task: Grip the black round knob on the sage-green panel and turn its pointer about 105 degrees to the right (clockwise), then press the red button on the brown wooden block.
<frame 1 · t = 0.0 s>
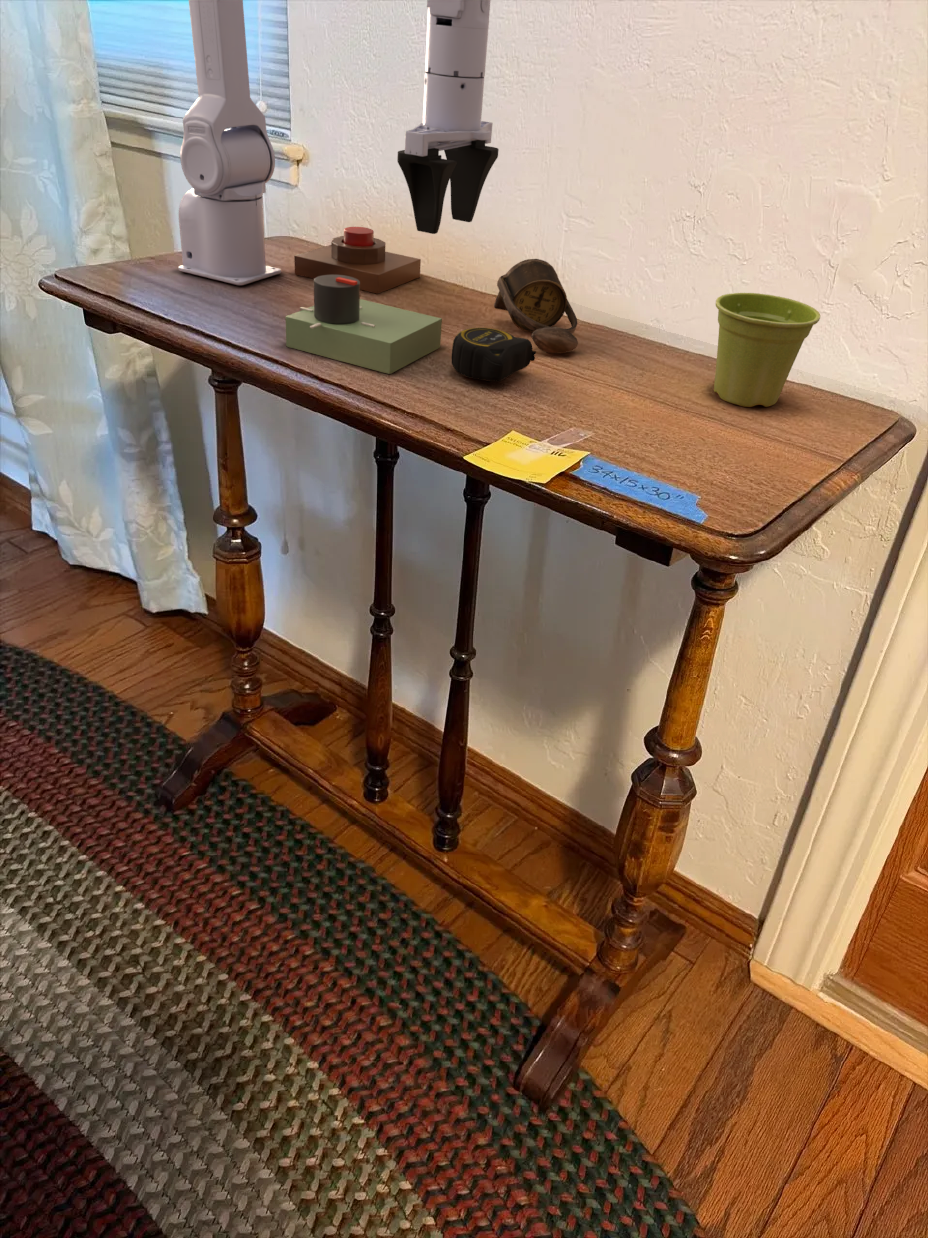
hand: (445, 225, 96), 10 cm above the table, tool pointing down, fingers open, 7 cm apart
antique clock: (532, 338, 101), on the table
red button: (358, 237, 112), point 4 cm above the table, slide at 0.1 cm
plant pot: (744, 398, 90), on the table
tape measure: (492, 378, 89), on the table
dial knob: (336, 297, 90), point 5 cm above the table, hinge at 0.0°
dial panel: (364, 347, 93), on the table
button block: (358, 275, 115), on the table
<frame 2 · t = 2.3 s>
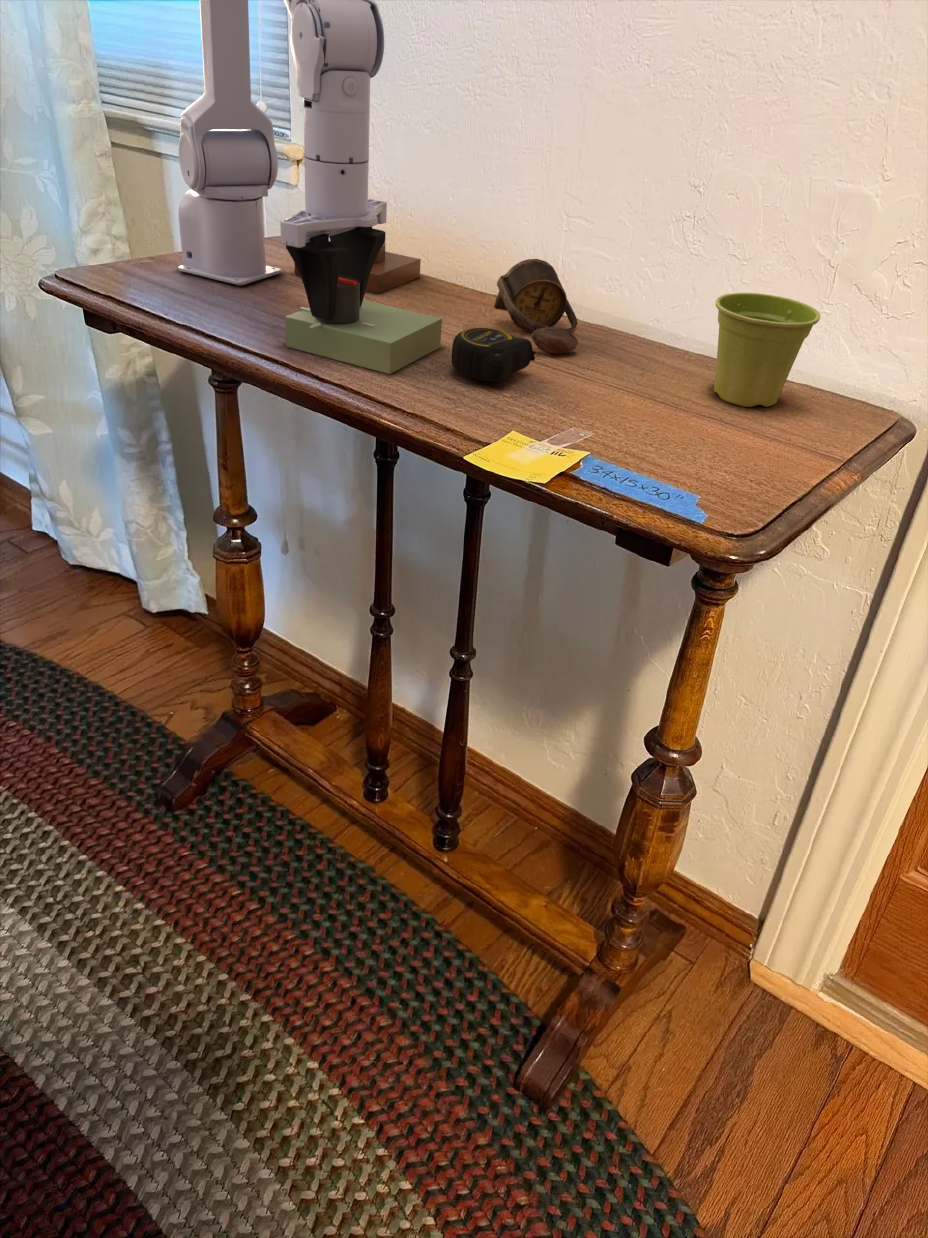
hand: (336, 311, 90), 4 cm above the table, tool pointing down, fingers closed on dial knob, 4 cm apart
dial knob: (336, 297, 90), point 5 cm above the table, hinge at 0.1°, touching gripper
everything else where it was.
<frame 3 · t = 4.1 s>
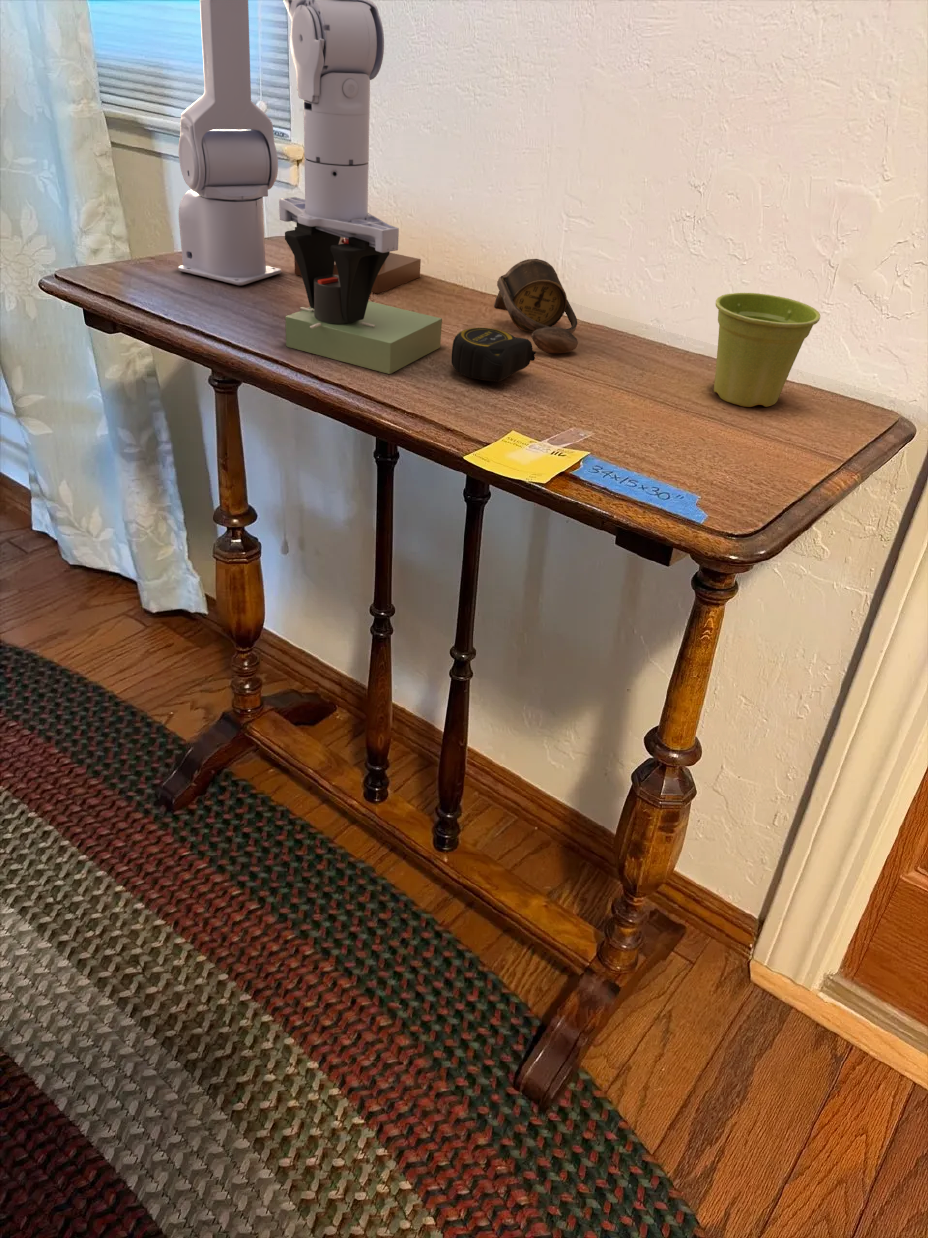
hand: (336, 313, 90), 3 cm above the table, tool pointing down, fingers closed on dial knob, 4 cm apart
dial knob: (336, 297, 90), point 5 cm above the table, hinge at -105.5°, touching gripper
everything else where it was.
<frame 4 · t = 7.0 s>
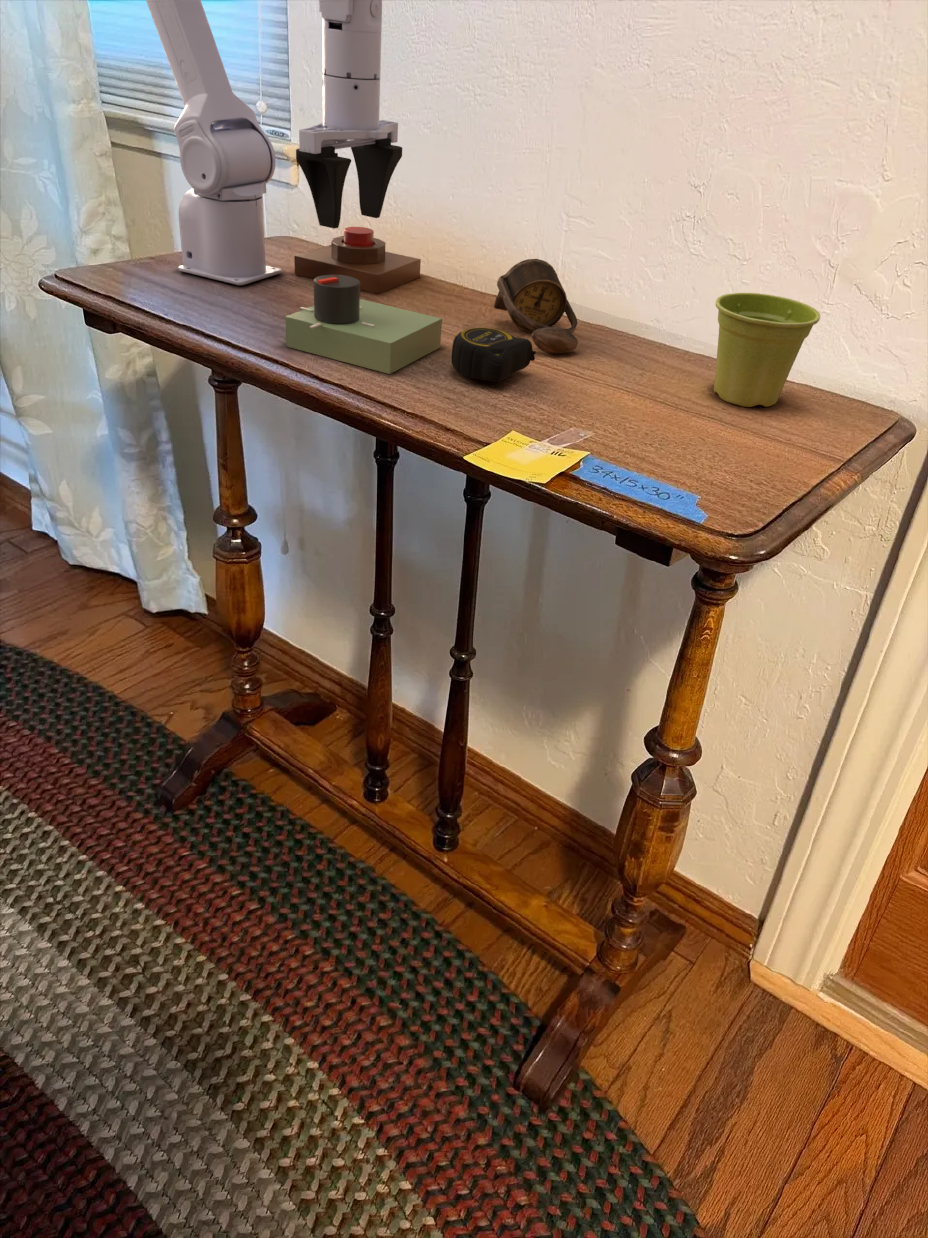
hand: (350, 221, 100), 9 cm above the table, tool pointing down, fingers open, 7 cm apart
dial knob: (336, 297, 90), point 5 cm above the table, hinge at -105.8°
everything else where it was.
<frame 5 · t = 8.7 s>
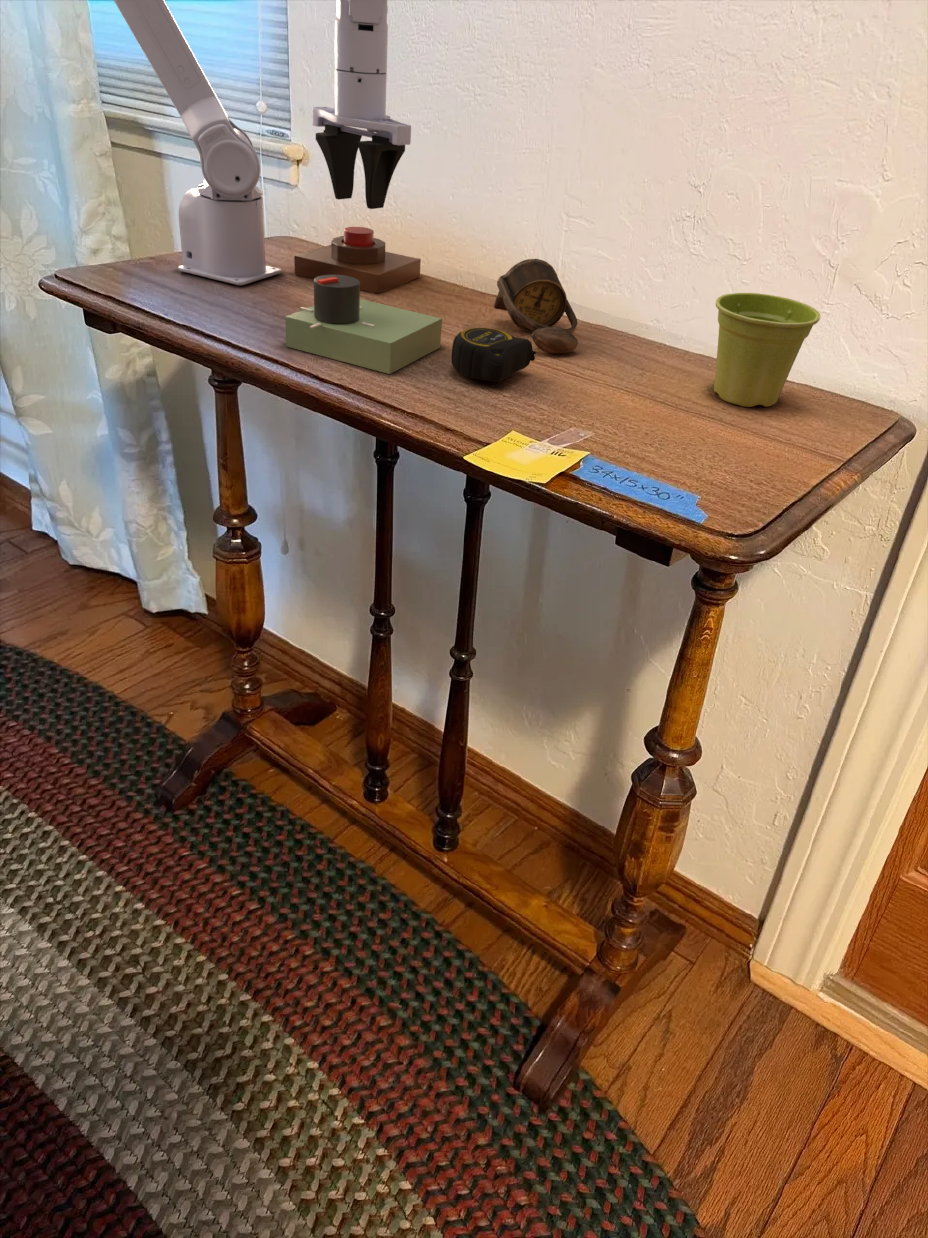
hand: (359, 202, 110), 8 cm above the table, tool pointing down, fingers open, 5 cm apart
nothing on the table moved.
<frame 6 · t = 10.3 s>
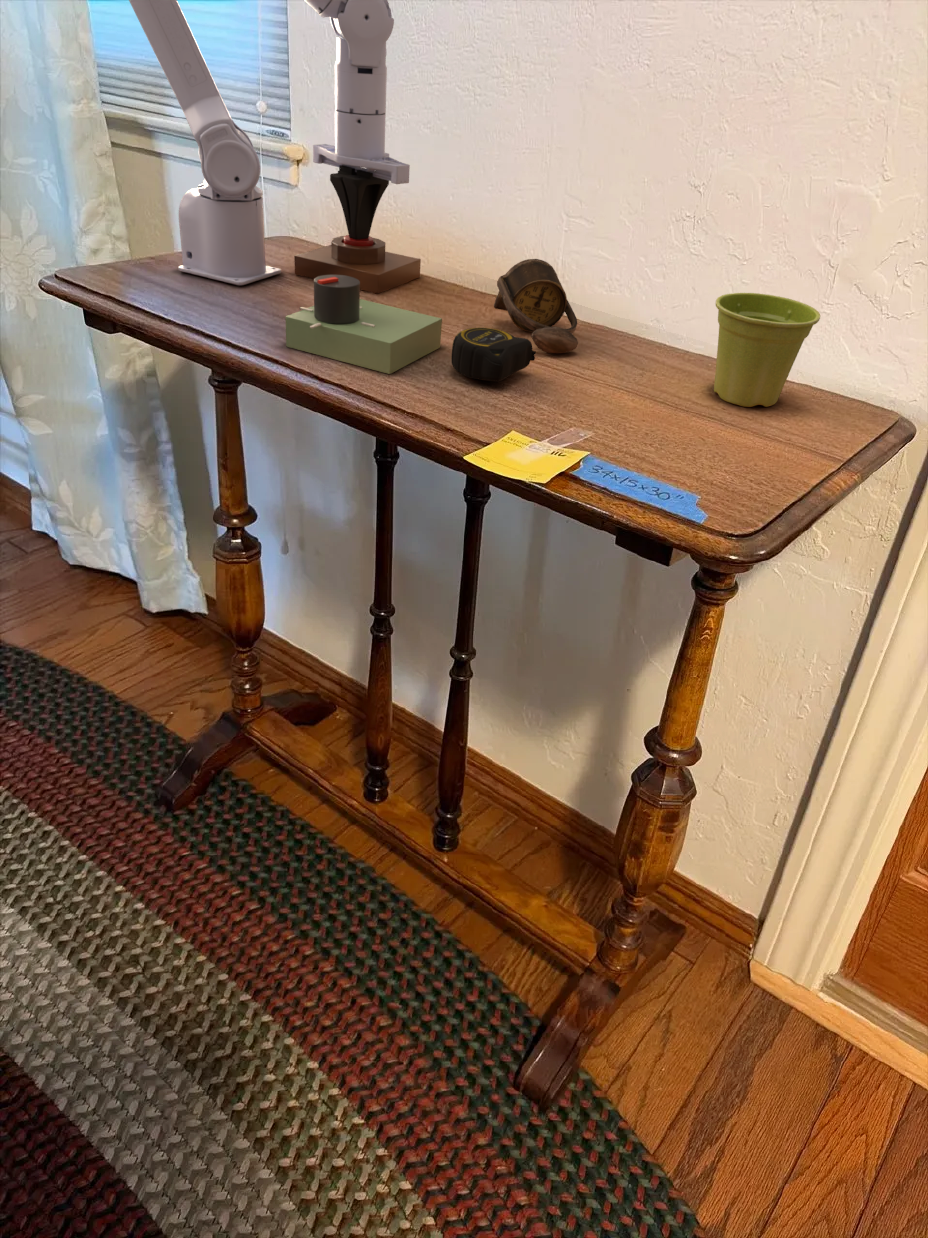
hand: (358, 237, 112), 4 cm above the table, tool pointing down, fingers closed, pressing on red button
red button: (358, 245, 113), point 4 cm above the table, slide at -0.8 cm, touching gripper
everything else where it was.
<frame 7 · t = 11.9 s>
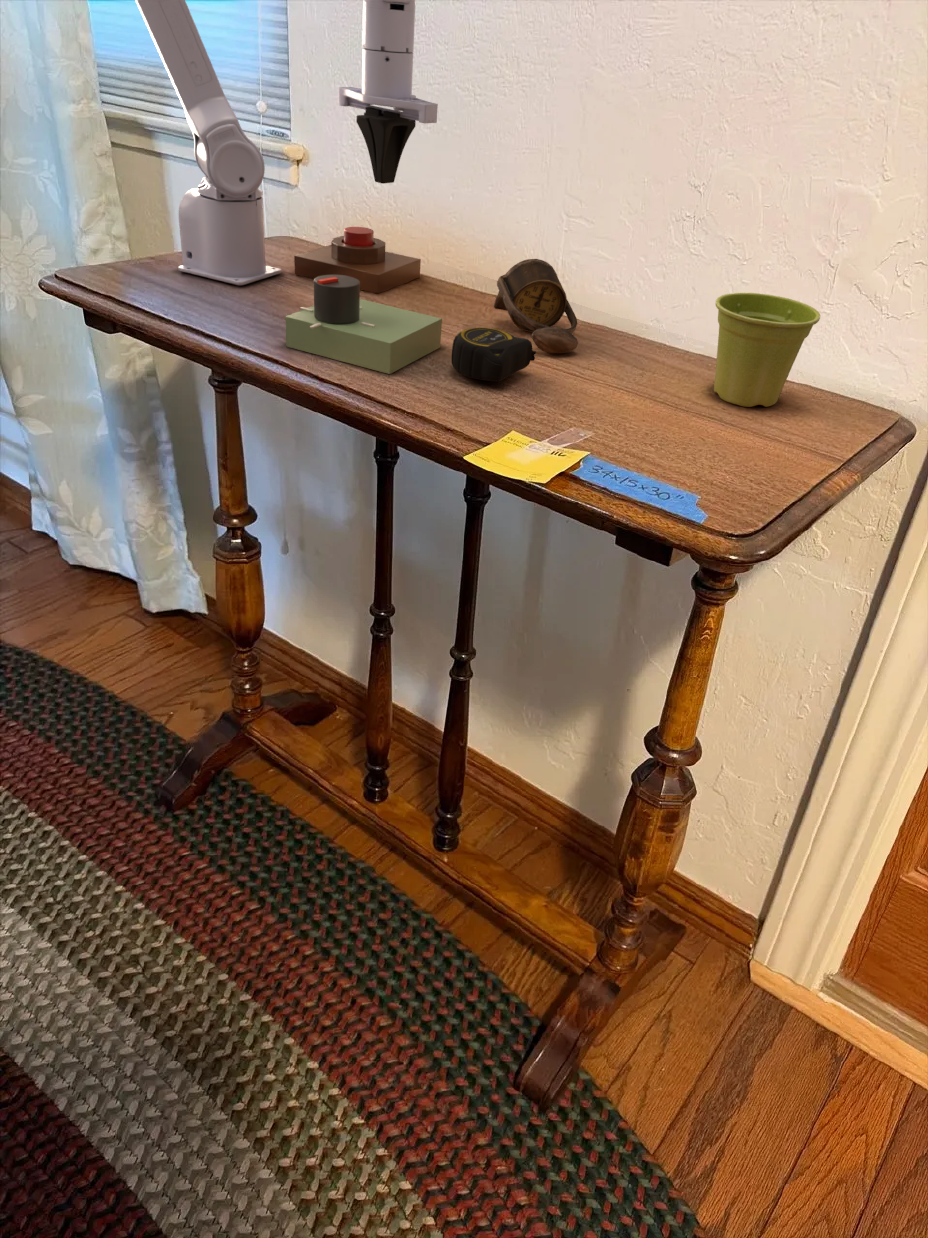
hand: (384, 181, 112), 10 cm above the table, tool pointing down, fingers closed
red button: (358, 237, 112), point 4 cm above the table, slide at 0.1 cm
everything else where it was.
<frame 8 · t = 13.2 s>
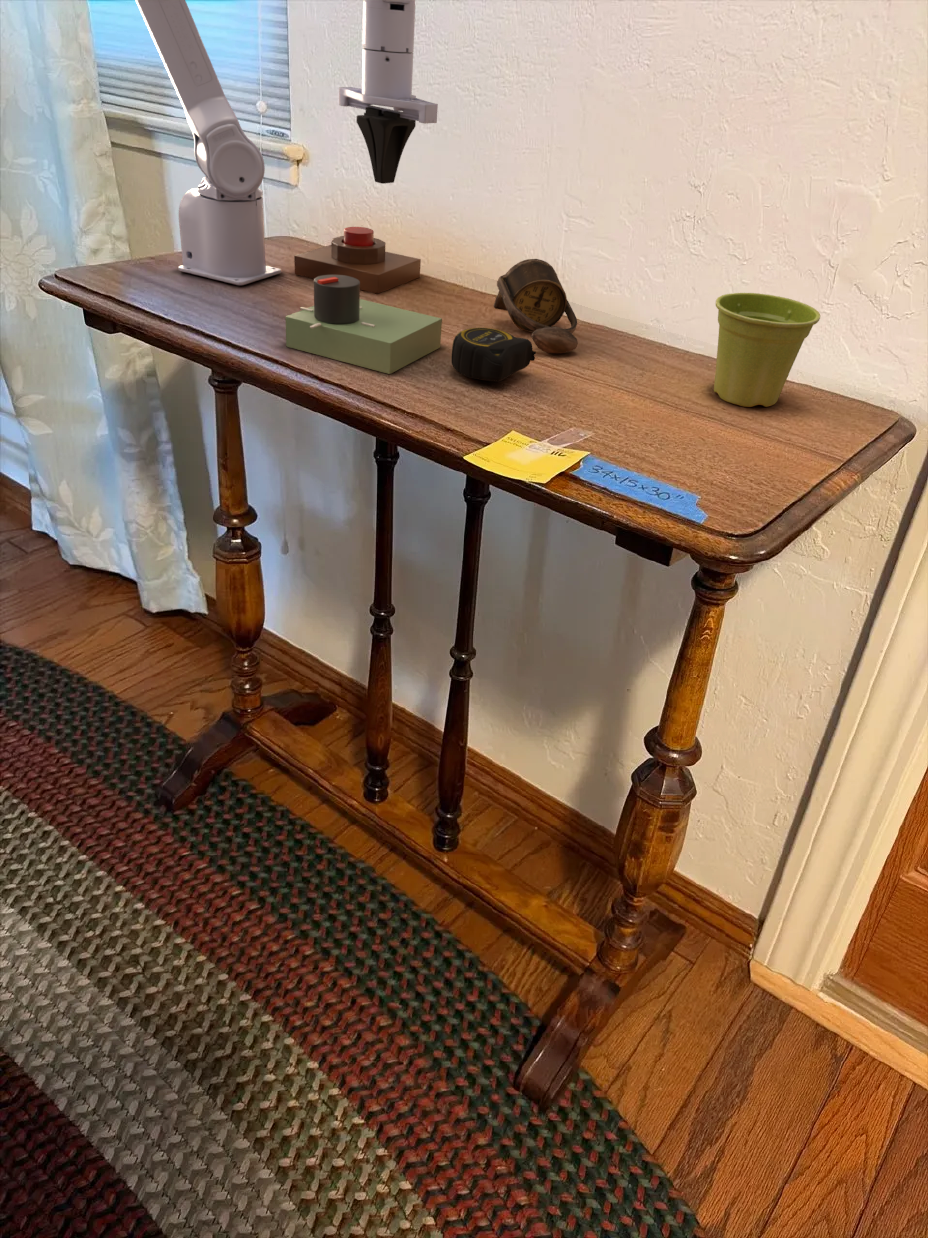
hand: (384, 181, 112), 10 cm above the table, tool pointing down, fingers closed
nothing on the table moved.
at the end: dial knob at -106° (first picture: +0°); red button pushed in 1.2 cm at the most during the clip, back to where it started at the end; red button slide at 0.1 cm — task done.
